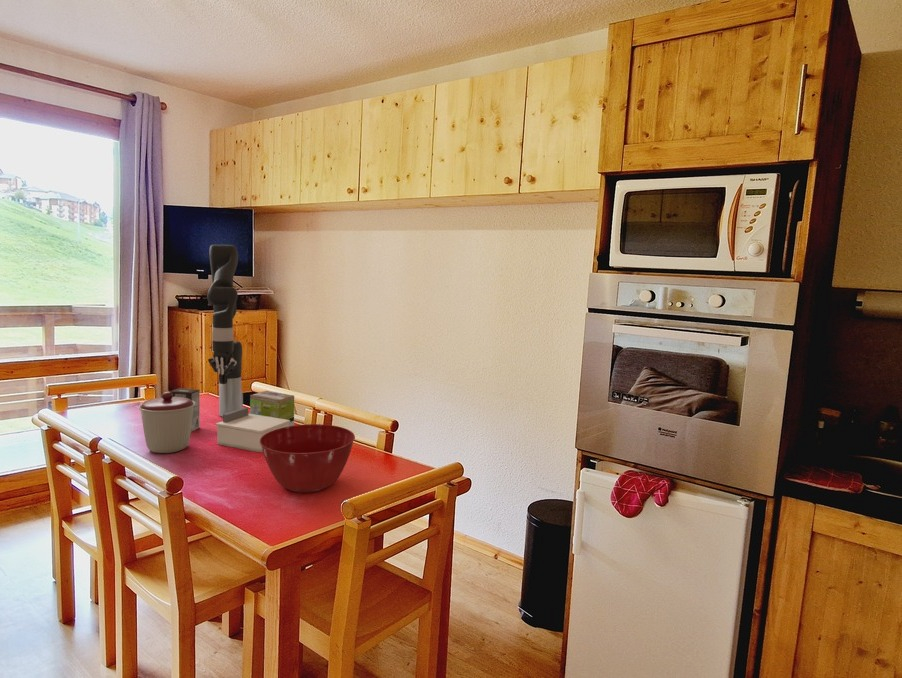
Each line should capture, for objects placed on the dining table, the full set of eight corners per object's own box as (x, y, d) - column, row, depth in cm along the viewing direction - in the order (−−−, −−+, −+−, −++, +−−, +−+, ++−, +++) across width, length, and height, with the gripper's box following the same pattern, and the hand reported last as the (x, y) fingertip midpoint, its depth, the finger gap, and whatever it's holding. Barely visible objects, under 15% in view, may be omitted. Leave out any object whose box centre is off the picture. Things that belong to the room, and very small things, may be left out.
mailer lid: (215, 425, 203) (215, 415, 203) (247, 415, 219) (247, 405, 218) (261, 433, 196) (261, 423, 196) (290, 422, 211) (290, 412, 211)
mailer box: (217, 444, 204) (217, 426, 203) (247, 433, 219) (247, 416, 218) (260, 452, 197) (260, 433, 196) (288, 440, 212) (288, 422, 211)
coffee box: (170, 430, 218) (169, 391, 216) (179, 425, 225) (178, 387, 223) (191, 431, 218) (191, 392, 216) (200, 427, 224) (200, 389, 222)
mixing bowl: (294, 512, 151) (294, 458, 149) (241, 483, 169) (241, 435, 167) (372, 485, 172) (373, 438, 170) (317, 462, 190) (318, 419, 188)
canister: (206, 447, 201) (206, 391, 198) (160, 461, 185) (159, 400, 182) (175, 438, 209) (174, 384, 206) (128, 450, 193) (126, 392, 190)
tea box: (249, 429, 224) (249, 394, 222) (266, 423, 233) (266, 389, 231) (278, 435, 218) (279, 399, 216) (294, 429, 228) (295, 394, 226)
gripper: (243, 339, 210) (243, 383, 212) (216, 336, 214) (217, 380, 216) (229, 341, 203) (229, 387, 205) (201, 338, 207) (202, 383, 209)
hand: (223, 383), depth 211 cm, fingers closed
